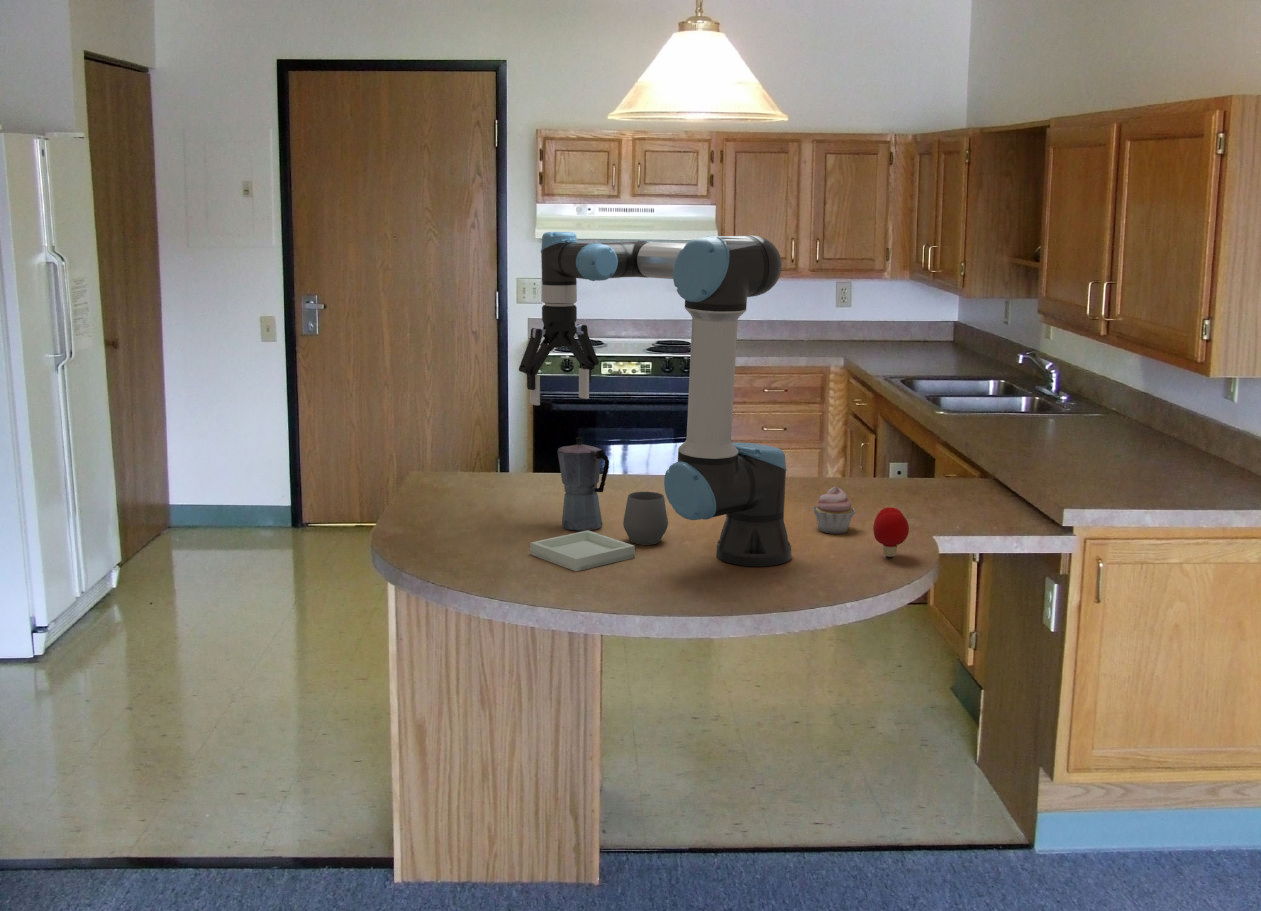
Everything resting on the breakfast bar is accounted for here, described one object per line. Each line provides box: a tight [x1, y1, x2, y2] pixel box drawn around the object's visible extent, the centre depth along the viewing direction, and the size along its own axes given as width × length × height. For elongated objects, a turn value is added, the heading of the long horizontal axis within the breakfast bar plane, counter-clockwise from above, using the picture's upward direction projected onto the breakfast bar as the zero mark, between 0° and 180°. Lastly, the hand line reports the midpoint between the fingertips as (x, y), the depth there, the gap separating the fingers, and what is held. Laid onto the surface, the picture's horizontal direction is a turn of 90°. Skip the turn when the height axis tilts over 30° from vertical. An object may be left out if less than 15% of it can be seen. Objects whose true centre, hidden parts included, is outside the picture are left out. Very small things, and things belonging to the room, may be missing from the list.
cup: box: [622, 491, 669, 546], centre depth 277 cm, size 10×9×10 cm
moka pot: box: [557, 436, 610, 532], centre depth 286 cm, size 10×15×20 cm, turn 51°
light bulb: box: [873, 507, 910, 559], centre depth 267 cm, size 9×7×10 cm
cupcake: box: [812, 486, 856, 535], centre depth 287 cm, size 9×9×10 cm
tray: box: [529, 530, 636, 572], centre depth 267 cm, size 15×15×2 cm
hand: (559, 401), depth 289 cm, fingers open, 13 cm apart
